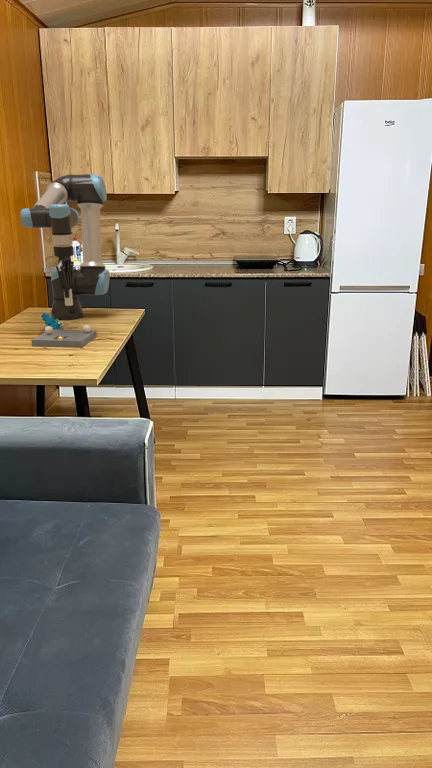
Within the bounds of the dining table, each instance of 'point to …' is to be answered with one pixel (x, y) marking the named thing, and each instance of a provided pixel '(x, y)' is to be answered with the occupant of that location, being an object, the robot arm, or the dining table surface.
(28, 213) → the robot arm
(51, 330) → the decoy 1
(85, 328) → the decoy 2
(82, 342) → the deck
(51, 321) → the gear
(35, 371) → the dining table surface
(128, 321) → the dining table surface
